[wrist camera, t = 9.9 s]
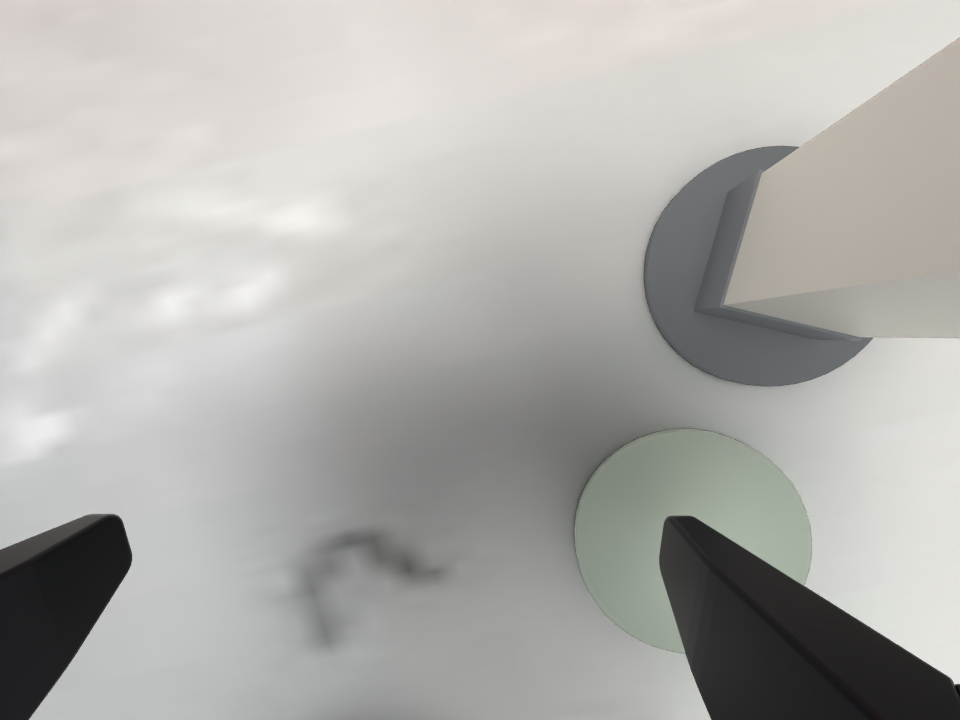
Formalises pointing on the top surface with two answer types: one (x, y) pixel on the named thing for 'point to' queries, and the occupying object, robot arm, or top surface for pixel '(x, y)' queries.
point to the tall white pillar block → (853, 223)
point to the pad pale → (680, 492)
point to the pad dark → (679, 276)
